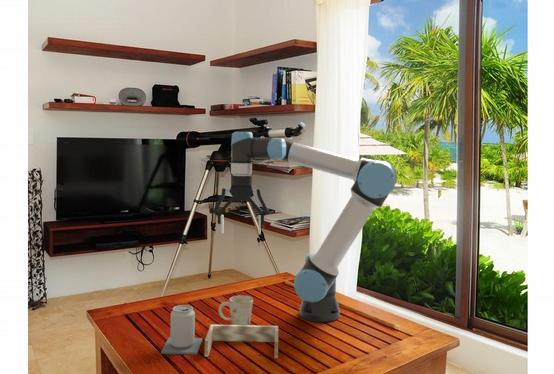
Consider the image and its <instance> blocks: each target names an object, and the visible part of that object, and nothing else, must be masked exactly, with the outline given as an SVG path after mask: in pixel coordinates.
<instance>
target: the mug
mask: <svg viewBox="0 0 554 374" xmlns="http://www.w3.org/2000/svg"><path fill="white" fill-rule="evenodd" d="M228 300H229V301H223V302H221V303H220V304H219V306H218V314H219V316H220V318H222V319H223V320H224V321H228V322H231V325H250V324H251V319H252V311H253V306H254V305H253V304H254V299H253V297H252V296H250V295H233V296H231V297H230V298H229V299H228ZM225 306H226V307H227V306H228V307H229V311H230V317H226V316H225V315H224V314H223V311H222V310H223V309H224V307H225Z"/></svg>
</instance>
